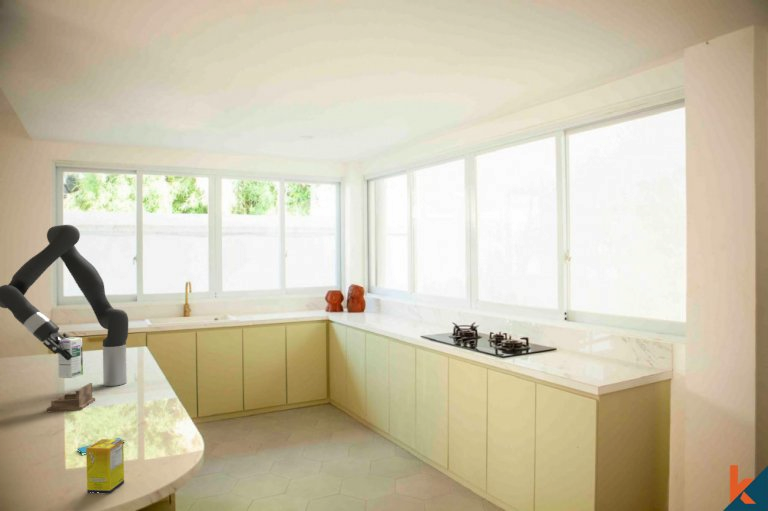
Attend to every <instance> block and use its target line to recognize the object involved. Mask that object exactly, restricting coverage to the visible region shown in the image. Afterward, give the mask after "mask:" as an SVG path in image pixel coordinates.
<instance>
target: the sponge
mask: <svg viewBox="0 0 768 511" xmlns="http://www.w3.org/2000/svg"><path fill="white" fill-rule="evenodd" d="M115 439H122V438H121V437H118V438H115ZM123 441H125V439H123ZM93 444H94V443H92V444H88V445H85V446H81V447H78V448H77V451H78V450H79V451H80V452H81V453H86V448H87V447H89V446H91V445H93Z"/></svg>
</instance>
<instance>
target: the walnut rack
mask: <svg viewBox="0 0 768 511" xmlns="http://www.w3.org/2000/svg"><path fill="white" fill-rule="evenodd" d="M93 401H94V402H95V401H96V398H95V397H93V383H92V382H89V383H88V384H85V385H84V386H82V387H80V388H78V389H77V390H76V391H75V393H63V394H61V395H59V396H58V397H56V398H54V399H52V400H51V401H50V406H49V407H48V408H46V412H47V413H49V412H48V411H50V412H64V411H82V410H84V409H85V408H86V406H87V407H89V404H90V405H91V404H93V403H94V402H93ZM83 408H84V409H83ZM81 409H82V410H81Z"/></svg>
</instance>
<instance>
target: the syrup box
mask: <svg viewBox="0 0 768 511" xmlns="http://www.w3.org/2000/svg"><path fill="white" fill-rule="evenodd" d="M69 337H70V336H69ZM61 342H62V343H63V347H64V348H65V349H66V350H67V351H68V352H69V353H70V354H71V355H72V358H71V359H70V360H66V359H65V358H64V357H63V356H62V355H61V354H58V353H57V355H58V356H57V359H58V378H60V379H73V378H76V377H80V376H83V374H84V367H83V366H84V364H83V362H84V357H83V338H82V337H80V336H72V337H70V338H66V339H61ZM65 349H64V350H65Z"/></svg>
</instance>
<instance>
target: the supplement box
mask: <svg viewBox="0 0 768 511" xmlns="http://www.w3.org/2000/svg"><path fill="white" fill-rule="evenodd" d="M123 440H124V439H122V438H121V439H116V438H114V439H113V438H112V439H111V438H110V439H109V438H101V439H100V440H98V441H97V442H94V443H92V444H93V445H92V444H90V445H91V446H89V447H87V448H86V456H85V457H86V489H87V490H86V491H87V492H86V493H87V494H98V493H97V492H99V493H110V494H112V491H113V490H114V491H115V490H116V489H118V488H119V487H120V486H122V485H123V484H125V467H124V466H125V463H124V462H125V461H124V459H125V458H124V455H125V454H124V443H123ZM121 484H122V485H121ZM114 491H113V492H114ZM90 492H91V493H90ZM92 492H94V493H92Z"/></svg>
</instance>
